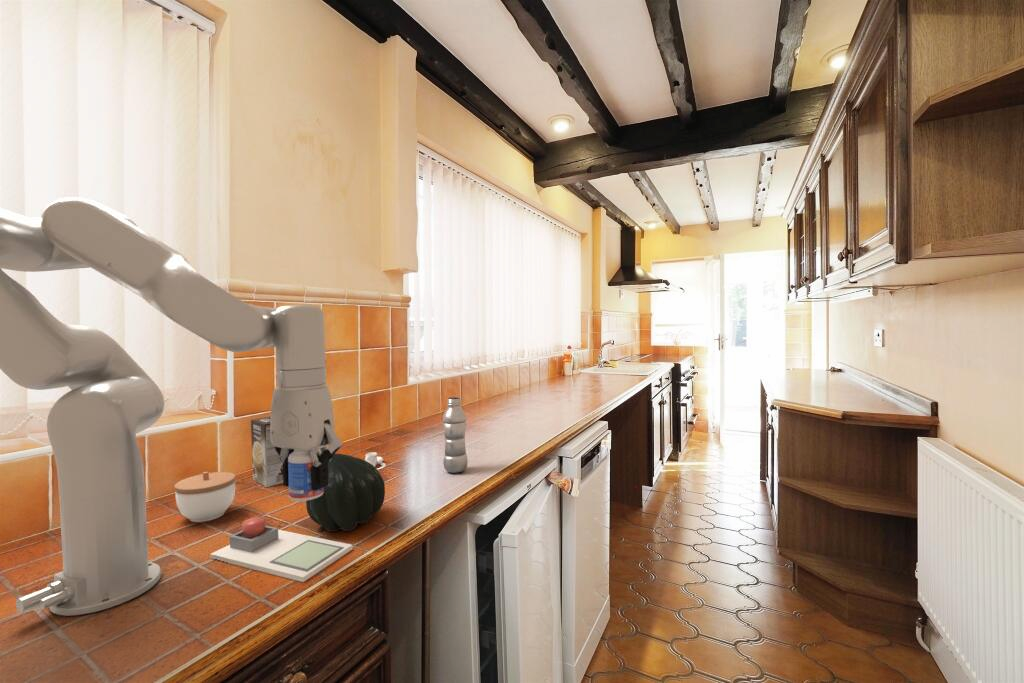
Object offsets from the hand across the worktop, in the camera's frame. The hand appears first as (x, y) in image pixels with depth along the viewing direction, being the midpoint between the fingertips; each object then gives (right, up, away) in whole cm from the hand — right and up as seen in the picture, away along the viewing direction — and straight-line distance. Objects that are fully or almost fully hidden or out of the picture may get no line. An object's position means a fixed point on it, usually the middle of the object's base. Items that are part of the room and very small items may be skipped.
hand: (306, 484), depth 77 cm
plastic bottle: (+20, -11, +46) cm, 51 cm away
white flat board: (-5, -13, +3) cm, 14 cm away
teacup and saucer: (-2, -12, +53) cm, 54 cm away
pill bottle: (0, -2, 0) cm, 2 cm away
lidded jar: (-30, -13, +19) cm, 38 cm away
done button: (-12, -10, +5) cm, 16 cm away
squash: (+2, -13, +15) cm, 19 cm away
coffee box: (-27, -12, +41) cm, 51 cm away
